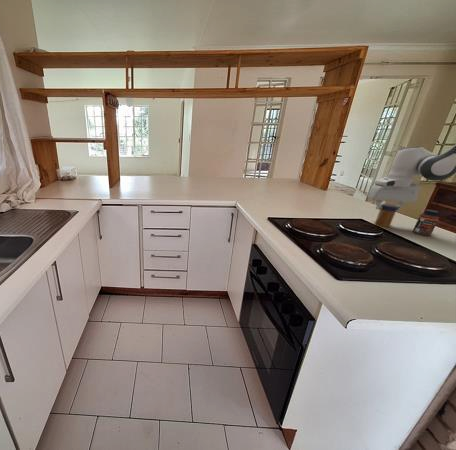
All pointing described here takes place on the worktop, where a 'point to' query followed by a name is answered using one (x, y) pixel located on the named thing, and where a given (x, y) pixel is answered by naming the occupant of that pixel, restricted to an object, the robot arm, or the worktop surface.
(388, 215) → the jam jar
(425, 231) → the supplement bottle
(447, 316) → the worktop surface
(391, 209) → the jar lid
